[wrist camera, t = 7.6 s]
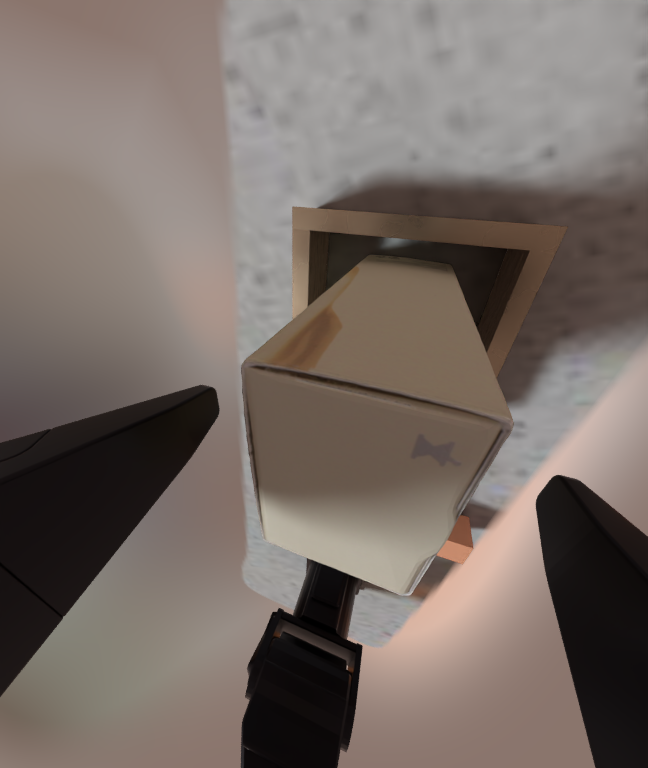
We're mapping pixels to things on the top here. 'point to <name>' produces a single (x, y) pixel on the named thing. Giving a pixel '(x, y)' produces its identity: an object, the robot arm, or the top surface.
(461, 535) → the lock bar
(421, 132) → the top surface
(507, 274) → the open wooden box
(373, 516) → the skincare box
